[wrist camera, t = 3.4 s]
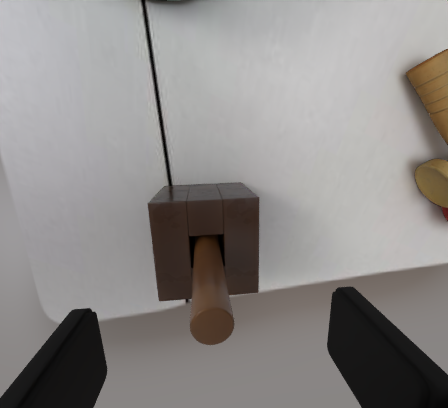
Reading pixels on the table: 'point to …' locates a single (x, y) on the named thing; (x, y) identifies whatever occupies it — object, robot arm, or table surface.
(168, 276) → the holder
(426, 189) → the kendama
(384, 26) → the table surface
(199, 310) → the stick
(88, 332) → the robot arm
